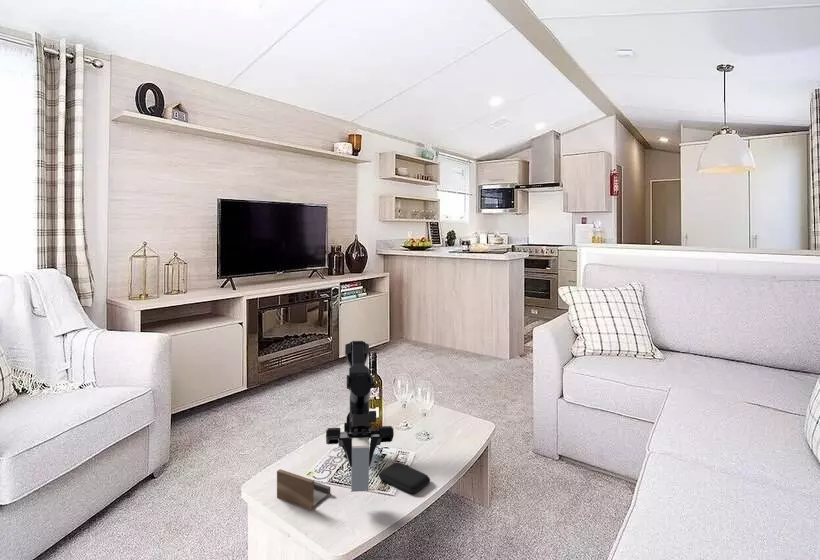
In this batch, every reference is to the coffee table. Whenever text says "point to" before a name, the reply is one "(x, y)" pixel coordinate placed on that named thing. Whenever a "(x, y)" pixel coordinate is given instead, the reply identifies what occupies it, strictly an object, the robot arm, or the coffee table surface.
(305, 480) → the stand
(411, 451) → the coffee table surface
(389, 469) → the carrying case or bag
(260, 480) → the coffee table surface
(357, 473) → the white tall block
